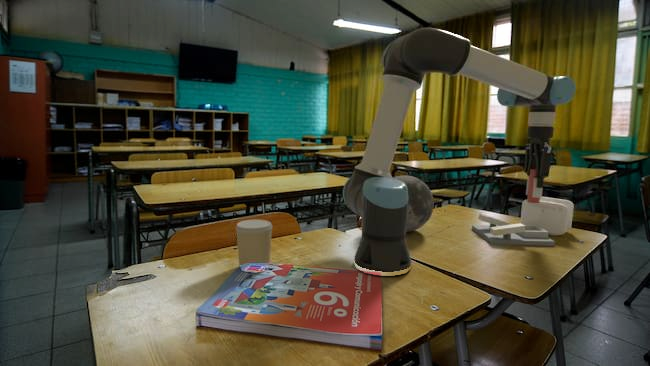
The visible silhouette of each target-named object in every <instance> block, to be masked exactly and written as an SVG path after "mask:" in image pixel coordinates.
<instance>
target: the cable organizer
mask: <svg viewBox="0 0 650 366" xmlns="http://www.w3.org/2000/svg"><path fill="white" fill-rule="evenodd" d="M574 208H575V204H574V203H573V201H571V200H568V199H561V198H554V197H547V196H542V198H540V201H539V203H529V202H527V199H525V200H523V201H522V204H521V213H520V222H519V223H521V224H523V225H536V226H538V227H540V228H542V229H544V230H546V231H548V232H549V233H548V235H550V236H561V235H563V234H566V232H567V231H568V230H570V229H572V223H573V216H574V215H573V214H574Z"/></svg>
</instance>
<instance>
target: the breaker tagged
mask: <svg viewBox="0 0 650 366" xmlns="http://www.w3.org/2000/svg"><path fill="white" fill-rule="evenodd" d="M490 231H491V234H493V235H494V236H497V235H504V234H511V233H518V232H526V231H525V225H523V224H521V223H520V222H518V223H513V224H509V225H504V226H498V225H497V227H490Z"/></svg>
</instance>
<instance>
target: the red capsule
mask: <svg viewBox="0 0 650 366" xmlns="http://www.w3.org/2000/svg"><path fill="white" fill-rule="evenodd" d="M534 176H536V169H530V178H529V188H528V195H527V199H526V200H527V202H529V203H539V201H540V198H537V197H532V194H533V184H534Z"/></svg>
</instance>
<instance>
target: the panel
mask: <svg viewBox="0 0 650 366" xmlns="http://www.w3.org/2000/svg"><path fill="white" fill-rule="evenodd" d="M497 226H498V225H494V224H491V223H489V225H486V224H485V225H483V224H480V225H479V224H476V225H475V224H472V225H471V230H472V231H474V232H475V233H476V234H478V235H479V236H480V237H481V238H483V240H486V242H488V243H489V244H490V245H493V246H494V245H496V246H497V245H499V246H503V245H505V246H538V247H539V246H541V247H542V246H543V247H546V246H547V247H555V246H556V245H555V244H556V241H555V240H553V239H551V238H550V237H549V234H548V233H549V232H548V231H546V230H544V229H542V228H540V227H538V226H536V225H525V231H526V232H518V233H511V234H504V235H497V236H494V235H493V234H491V231H490V227H497Z"/></svg>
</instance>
